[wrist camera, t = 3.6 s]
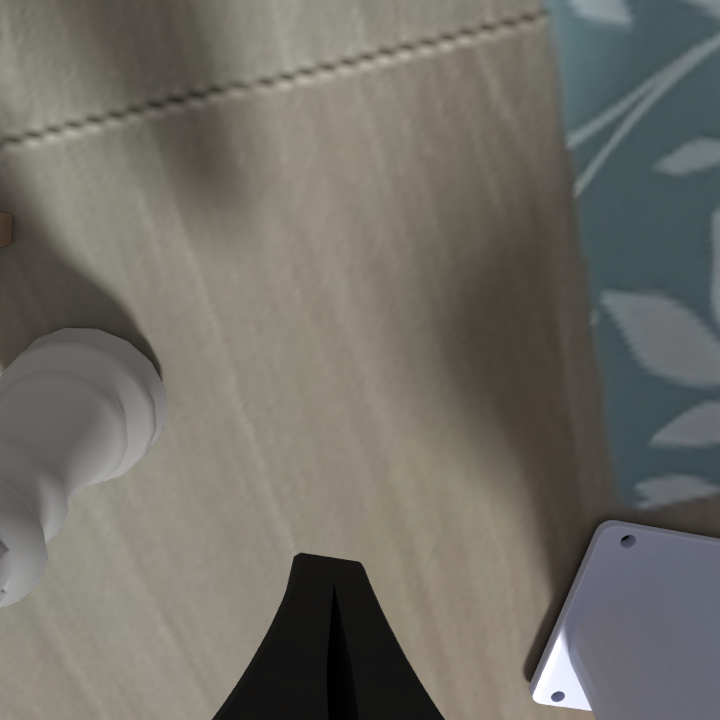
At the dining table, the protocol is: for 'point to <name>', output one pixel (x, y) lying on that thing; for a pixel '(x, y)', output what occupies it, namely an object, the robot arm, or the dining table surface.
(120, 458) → the rook chess piece
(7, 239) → the bay
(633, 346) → the dining table surface
